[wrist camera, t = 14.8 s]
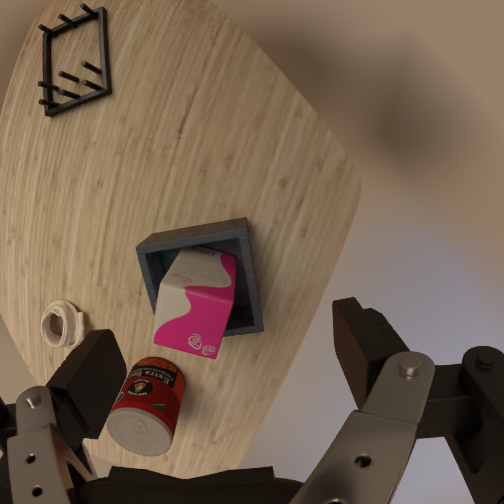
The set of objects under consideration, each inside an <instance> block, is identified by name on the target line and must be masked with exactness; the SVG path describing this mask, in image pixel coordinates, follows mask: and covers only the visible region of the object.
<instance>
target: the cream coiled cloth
mask: <svg viewBox="0 0 504 504" xmlns="http://www.w3.org/2000/svg"><path fill="white" fill-rule="evenodd" d="M54 313H55V314H56V315H57V316H62V319H63V320H64V324H63V332H62V336H58V335H54V334H52V333H51V331H50V318H49V317H50V316H51V315H52V314H54ZM41 334H42V336H43V338H44V340H45V341H46V343H47V344H48V345H50V346H52V347H56V348H64V347H68V348H71V347H74V346H77V345H79V344H81V342H82V341H83V340H84V338H85V336H84V323H83V313H82V312H77V311H76V309H75V307H74V306H73V305H72V304H70V303H69V302H68V301H65V300H57V301H54V302H52V303H51V304H50V305H49V306H48V307H47V308H46V310H45V312H44V313H43V316H42V321H41Z"/></svg>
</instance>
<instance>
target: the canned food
mask: <svg viewBox="0 0 504 504" xmlns="http://www.w3.org/2000/svg"><path fill="white" fill-rule="evenodd" d="M184 389H185V384H184V379H183V376H182V374H181V372H180V371H179V369H178V368H177V367H176V366H175V365H174V364H172V363H171V362H169V361H167V360H165V359H162V358H158V357H148V358H144V359H142V360H140V361H139V362H137V363H136V364H135V365H134V366H133V368H132V370H131V372H130V374H129V375H128V377H127V379H126V381H125V383H124V385H123V388H122V390H121V392H120V394H119V396H118V398H117V400H116V402H115V404H114V406H113V408H112V410H111V412H110V415H109V417H108V420H107V430H108V432H109V434H110V436H111V437H112V438H113V439H114V440H115V442H116V443H118V444H119V445H120V446H122V447H123V448H125V449H126V450H128V451H130V452H133V453H136V454H139V455H143V456H158V455H161V454H164V453H165V452H167V451H168V450H169V449H170V446H171V444H172V441H173V437H174V433H175V429H176V424H177V420H178V415H179V411H180V407H181V402H182V398H183V394H184Z"/></svg>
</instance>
